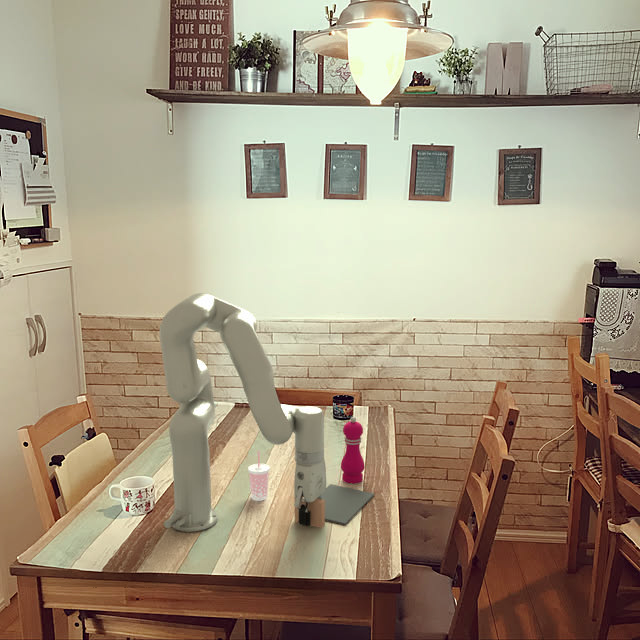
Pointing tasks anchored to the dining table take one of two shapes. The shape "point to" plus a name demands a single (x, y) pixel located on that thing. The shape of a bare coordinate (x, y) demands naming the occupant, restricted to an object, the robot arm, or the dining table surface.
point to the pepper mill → (352, 453)
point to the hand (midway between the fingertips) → (309, 519)
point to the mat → (343, 503)
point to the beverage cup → (258, 480)
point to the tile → (314, 512)
